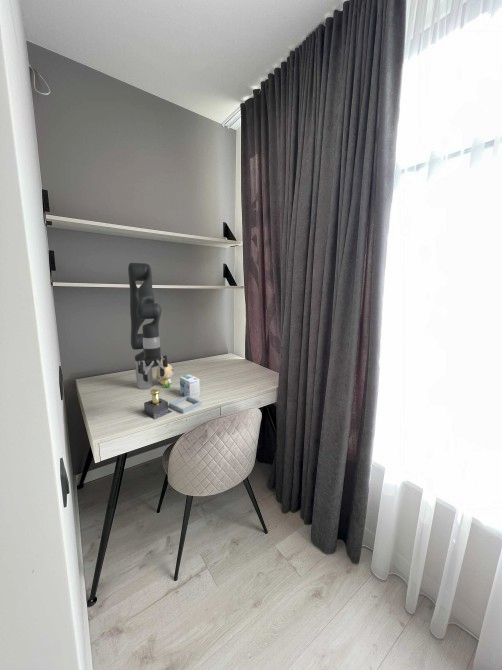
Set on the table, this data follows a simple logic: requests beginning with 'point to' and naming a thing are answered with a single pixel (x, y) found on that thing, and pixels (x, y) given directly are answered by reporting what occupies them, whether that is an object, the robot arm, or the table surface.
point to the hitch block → (156, 409)
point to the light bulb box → (189, 386)
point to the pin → (155, 396)
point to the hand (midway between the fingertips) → (154, 378)
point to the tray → (197, 404)
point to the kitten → (165, 376)
